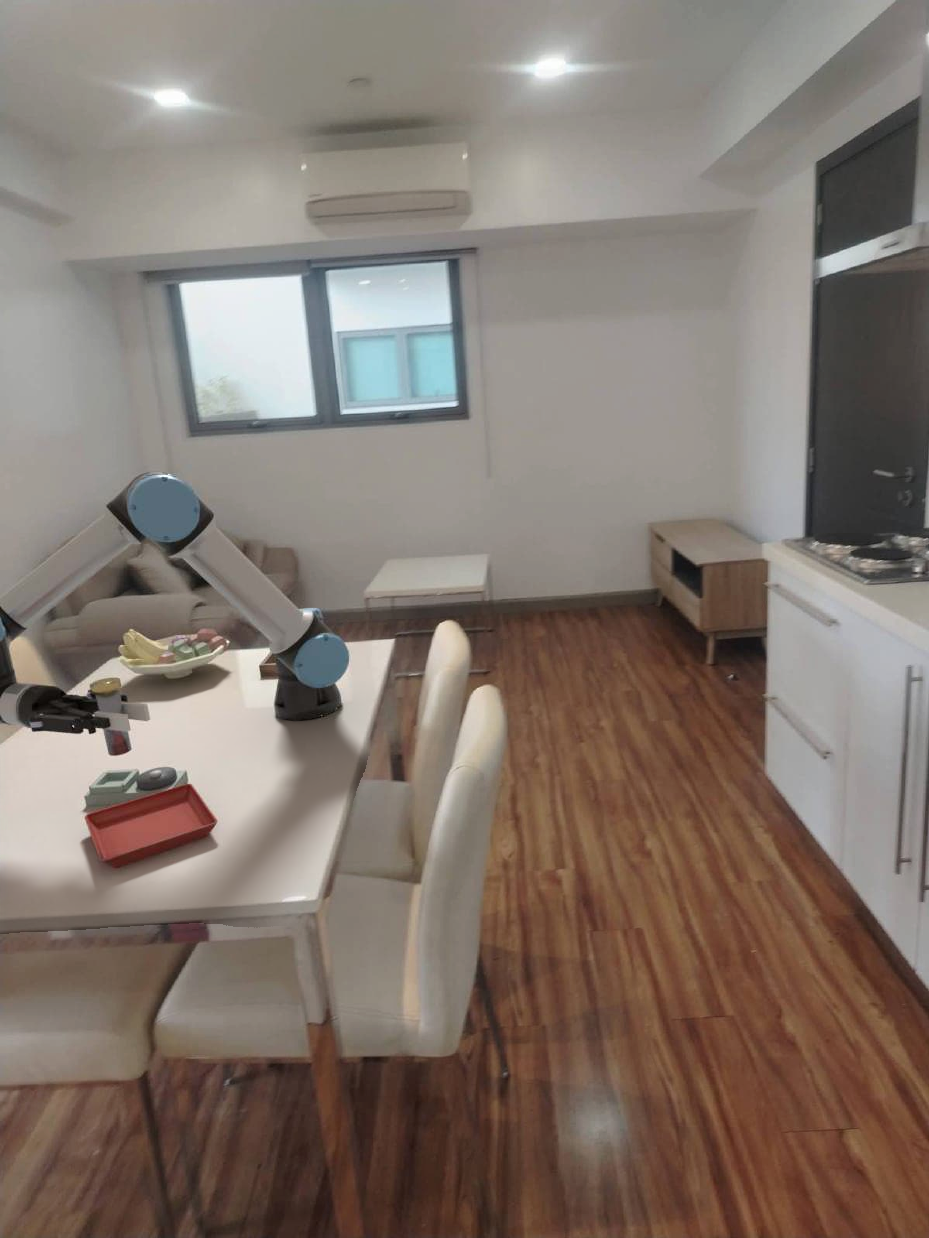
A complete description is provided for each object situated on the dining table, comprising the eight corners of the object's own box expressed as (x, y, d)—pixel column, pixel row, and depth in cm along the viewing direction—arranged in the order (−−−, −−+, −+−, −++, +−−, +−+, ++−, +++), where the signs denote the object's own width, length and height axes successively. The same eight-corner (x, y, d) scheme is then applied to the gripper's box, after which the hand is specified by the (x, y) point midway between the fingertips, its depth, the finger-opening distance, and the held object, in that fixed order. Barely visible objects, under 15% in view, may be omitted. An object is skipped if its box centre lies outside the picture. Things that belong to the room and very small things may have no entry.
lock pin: (139, 744, 134) (125, 676, 131) (127, 756, 130) (111, 686, 127) (113, 745, 135) (98, 678, 131) (100, 757, 130) (84, 688, 127)
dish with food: (102, 678, 212) (93, 628, 208) (195, 649, 233) (189, 603, 228) (156, 704, 195) (148, 650, 191) (252, 670, 215) (246, 621, 211)
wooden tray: (334, 650, 223) (333, 640, 222) (321, 672, 205) (319, 661, 205) (278, 654, 224) (276, 644, 223) (260, 676, 206) (258, 665, 205)
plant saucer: (193, 797, 145) (190, 780, 144) (222, 838, 130) (218, 820, 129) (87, 831, 136) (83, 814, 135) (104, 880, 121) (100, 861, 120)
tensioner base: (188, 779, 151) (184, 761, 150) (172, 800, 144) (168, 781, 143) (106, 784, 152) (102, 766, 151) (86, 805, 145) (81, 786, 144)
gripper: (79, 707, 146) (177, 718, 137) (-3, 746, 132) (101, 761, 122) (70, 669, 144) (169, 678, 135) (-14, 704, 129) (91, 716, 120)
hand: (137, 717), depth 128 cm, fingers closed on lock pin, 3 cm apart
